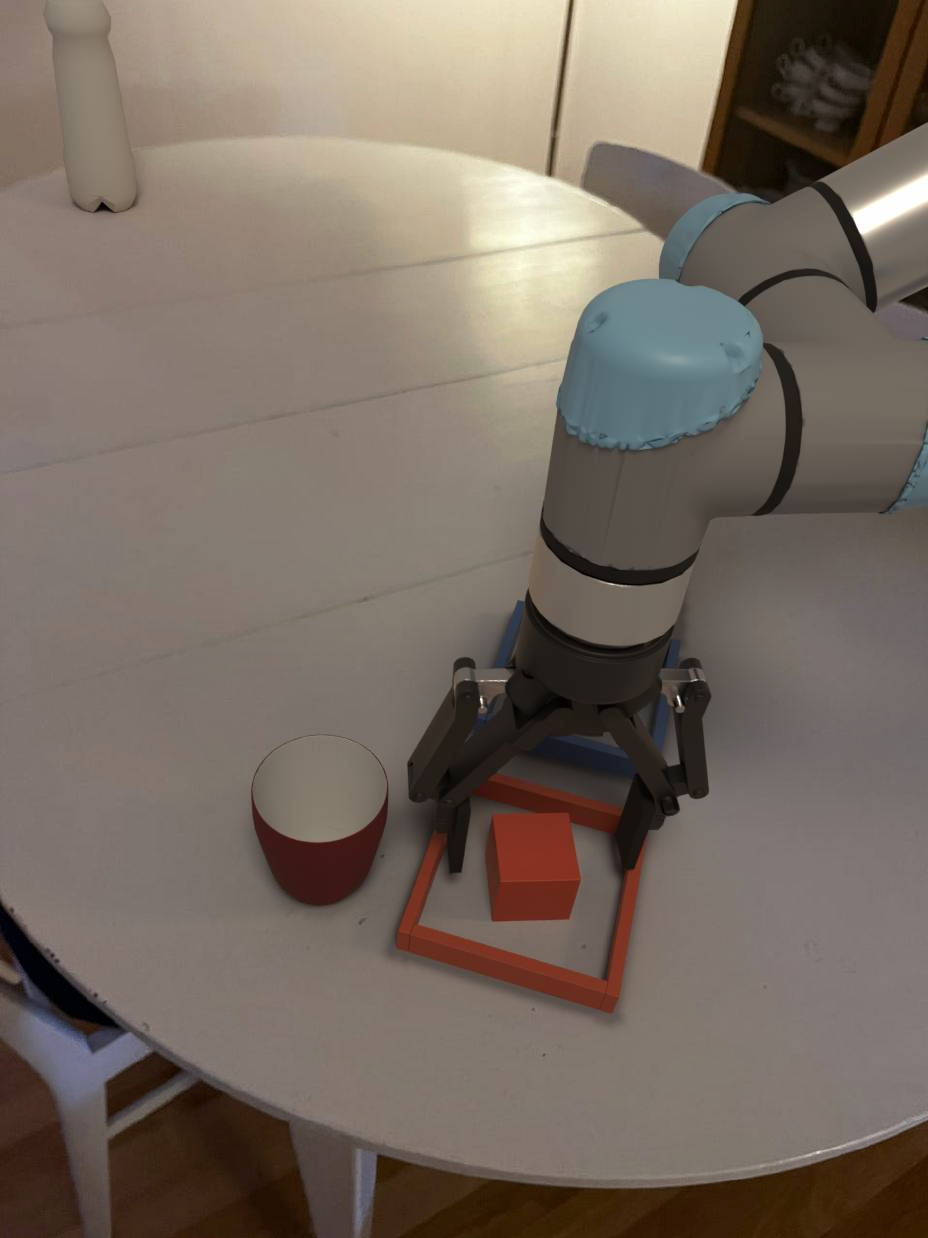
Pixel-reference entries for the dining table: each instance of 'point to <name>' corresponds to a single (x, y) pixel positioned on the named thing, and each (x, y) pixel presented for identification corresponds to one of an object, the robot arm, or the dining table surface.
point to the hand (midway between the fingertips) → (540, 853)
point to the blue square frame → (578, 747)
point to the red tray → (511, 964)
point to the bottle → (90, 106)
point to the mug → (320, 815)
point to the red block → (531, 867)
